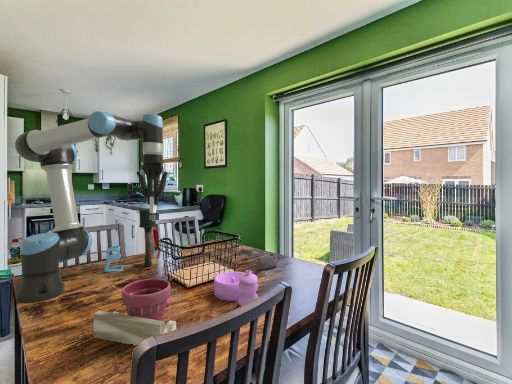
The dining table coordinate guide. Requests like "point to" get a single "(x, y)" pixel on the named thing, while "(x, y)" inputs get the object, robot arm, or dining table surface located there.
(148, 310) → the plant pot
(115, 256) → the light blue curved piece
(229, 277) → the container set
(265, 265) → the perforated stone tool
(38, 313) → the dining table surface
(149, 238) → the potato masher grenade
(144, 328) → the corner stop
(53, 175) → the robot arm
